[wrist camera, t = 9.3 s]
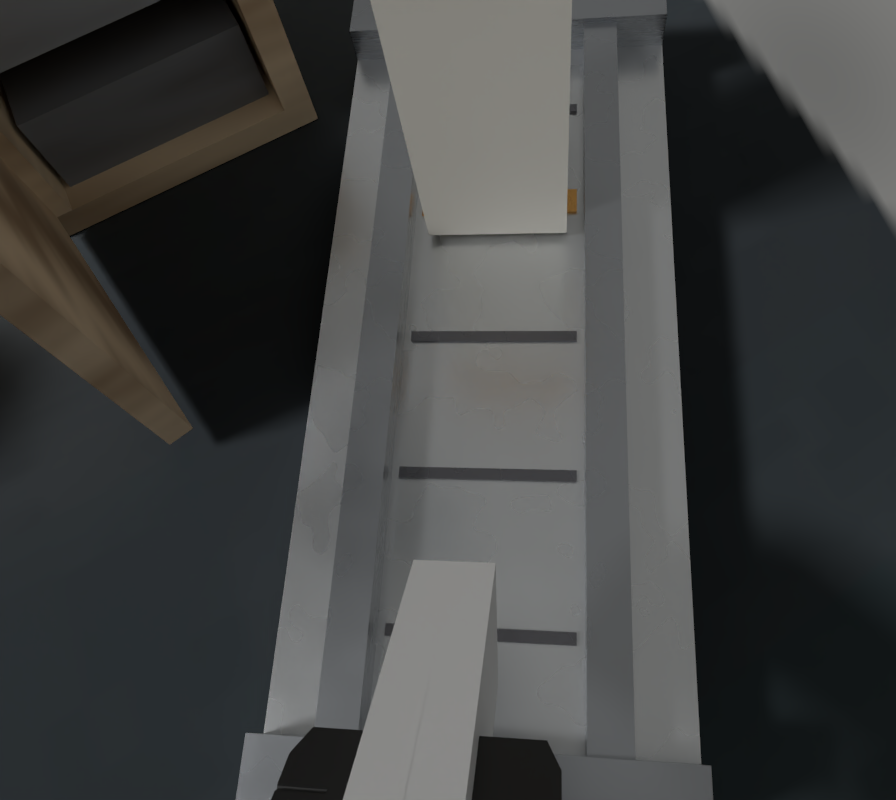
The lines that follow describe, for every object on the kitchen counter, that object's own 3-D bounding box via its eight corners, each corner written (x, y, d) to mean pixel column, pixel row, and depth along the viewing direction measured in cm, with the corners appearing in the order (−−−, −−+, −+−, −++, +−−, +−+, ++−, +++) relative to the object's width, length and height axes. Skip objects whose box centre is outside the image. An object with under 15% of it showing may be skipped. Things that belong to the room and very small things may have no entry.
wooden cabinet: (-8, 63, 32) (-302, -289, 21) (226, -43, 33) (61, -436, 22) (131, 482, 24) (-224, 266, 13) (437, 328, 25) (345, 2, 14)
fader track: (690, 831, 19) (715, 848, 16) (281, 798, 20) (234, 808, 17) (653, 58, 28) (664, -22, 25) (374, 71, 29) (354, -3, 26)
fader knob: (577, 241, 23) (593, -117, 13) (417, 243, 23) (324, -97, 14) (577, 114, 24) (591, -282, 15) (429, 120, 25) (352, -257, 16)
